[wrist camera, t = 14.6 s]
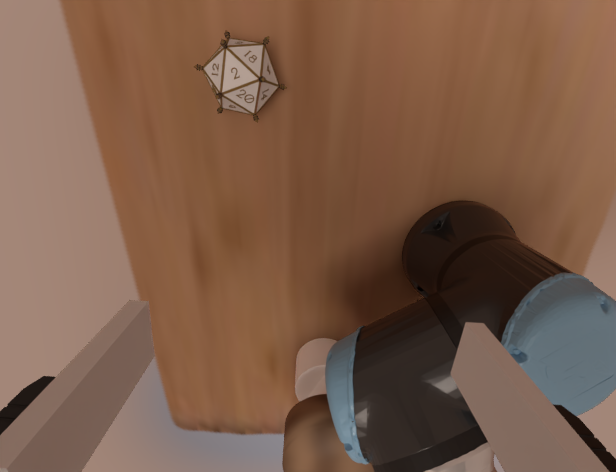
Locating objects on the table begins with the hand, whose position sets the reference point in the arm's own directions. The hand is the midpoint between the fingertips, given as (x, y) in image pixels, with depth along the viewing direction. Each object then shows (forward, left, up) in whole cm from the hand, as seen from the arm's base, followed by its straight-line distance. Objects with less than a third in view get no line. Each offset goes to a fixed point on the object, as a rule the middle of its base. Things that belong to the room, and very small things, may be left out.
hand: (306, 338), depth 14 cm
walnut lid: (-5, +29, -20) cm, 36 cm away
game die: (+8, -12, -32) cm, 35 cm away
